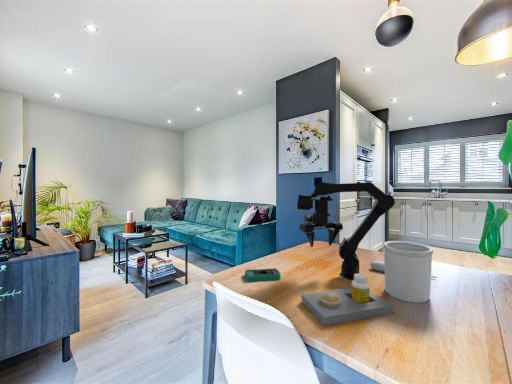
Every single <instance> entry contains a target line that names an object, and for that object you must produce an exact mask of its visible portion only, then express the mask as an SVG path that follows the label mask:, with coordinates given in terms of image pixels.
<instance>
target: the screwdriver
mask: <svg viewBox="0 0 512 384" xmlns="http://www.w3.org/2000/svg"><path fill="white" fill-rule="evenodd" d="M369 266H370V268H371V269H372V270H375V271H377V272H384V273H385V261H380V260H377V261H376V260H374V261H371V262H370V265H369ZM431 278H433V279H437V278H438V277H436V276H434V275H431Z"/></svg>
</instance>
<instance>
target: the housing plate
mask: <svg viewBox="0 0 512 384" xmlns="http://www.w3.org/2000/svg"><path fill="white" fill-rule="evenodd" d="M351 295H352V286H350V287H344V288H338V289H330V290H325V291H318V292H311V293H310V292H309V293H302V294H301V303H302V304H303V305H304V306H305V307H306V309H308V310H309V312H310V313H311V314H312V315H313V316H314V317H315V318H316V319H317V320H318V321H319V322H320V323H321V324H322V325H323V327H326V326H333V325H338V324H343V323H348V322H352V321H358V320H364V319H369V318H374V317H379V316H384V315H390V314H393V313H394V304H392V303H391V302H389V301H387V300H386V299H384V298H382V297H381V296H379V295H378V294H376V293H375V292H373V291H370V292H369V302H368V303H362V304H357V303H356V302H355V301H353V300H352V299H351Z"/></svg>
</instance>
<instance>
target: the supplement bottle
mask: <svg viewBox="0 0 512 384" xmlns="http://www.w3.org/2000/svg"><path fill="white" fill-rule="evenodd" d="M351 287H352V295H351V299H352V300H353V301H355V302H356V303H357V304H362V303H368V302H369V292H370V290H371V289H370V287H371V286H370V283H369V282H368V276H367V275H366V274H364V273H359V274H354V279H352V281H351Z"/></svg>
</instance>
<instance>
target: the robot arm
mask: <svg viewBox="0 0 512 384" xmlns="http://www.w3.org/2000/svg"><path fill="white" fill-rule="evenodd" d="M355 192H358V193H359V192H360V193H361V192H366V193H368V195H370V196H371V197H372V198H373V199H374V202H373V203H372V206H371V209H370V211H368V214H367V215H366V216H365V217H364V218H363V220H362V221H361V223H360V224H359V225H358V227H357V228H356V229H355V231H354V232H353V233H352V234H351V236H349V237H348V238H346V237H343V238H342V240H341V242H339V243H338V255H339V257H340V258H341V259H342V260H343V261H341V262H342V263H341V267H340V269H341V272H340V273H339V275H341V276H342V277H344V278H345V279H348V280H349V281H350V280H354V274H360V260H359V259H360V258H359V257H358V254H357V253H356V252H357V250H358V248H359V245H360V243H361V242H362V240H363V239H364V238H365V237H366V235H367V234H368V232H369V231H370V230H371V229H372V228H373V226H375V223H376V222H378V220H379V218H380V217H382V216H383V215H384V214H386V213H387V212H389V210H391V209H392V208H393V207H394V206H395V204H396V200H395V198H394V197H393V196H392V195H391V194H388V193H385V192H384V191H382V190H381V189H379V187H377V186H375V184H374V183H373V182H371V181H366V182H353V183H349V182H347V183H332V182H323V181H321V182H317V183H316V185H315V186H314V191H313V192H312V193H311V194H310V195H307V194H298V196H297V197H298V198H297V204H296V205H297V210H298V211H311V210H312V209H314V212H312V216H311V214H305V215H304V218H303V219H304V223H302V222H301V223H300V224H299V225H298V227H299V228H298V229H299V231H302V233H304V234H305V235H306V237H307V239H308V242H309V243H308V244H309V245H310V247H311V248H313V247H314V241H315V232H314V230H321V229H322V230H323V229H324V230H325V229H327V232H328V246H332V245H333V242H334V241H335V239H336V237H337V235H338V234H339V233H340V232H341V231H342V230H344V226H343V223H342V222H338V221H329V217H330V216H331V213H329V202H330V201H331V202H333V201H334V199H333V198H332V197H331V194H336V193H355ZM319 196H320V197H319ZM317 197H319V198H317Z"/></svg>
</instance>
